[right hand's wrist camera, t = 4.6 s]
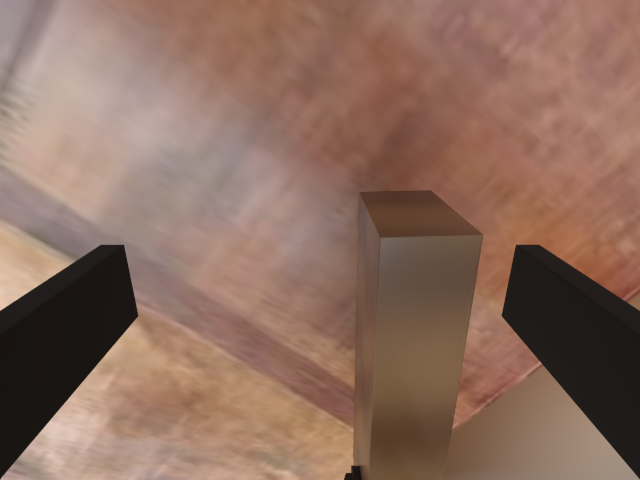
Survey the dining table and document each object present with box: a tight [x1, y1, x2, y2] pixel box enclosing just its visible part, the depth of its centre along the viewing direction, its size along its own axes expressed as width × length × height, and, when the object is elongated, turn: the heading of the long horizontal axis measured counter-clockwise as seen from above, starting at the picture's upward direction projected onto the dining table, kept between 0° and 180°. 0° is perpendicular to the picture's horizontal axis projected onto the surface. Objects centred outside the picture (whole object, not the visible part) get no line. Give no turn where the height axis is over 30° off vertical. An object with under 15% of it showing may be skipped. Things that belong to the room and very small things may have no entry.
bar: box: [353, 191, 483, 480], centre depth 27 cm, size 27×5×9 cm, turn 1°
